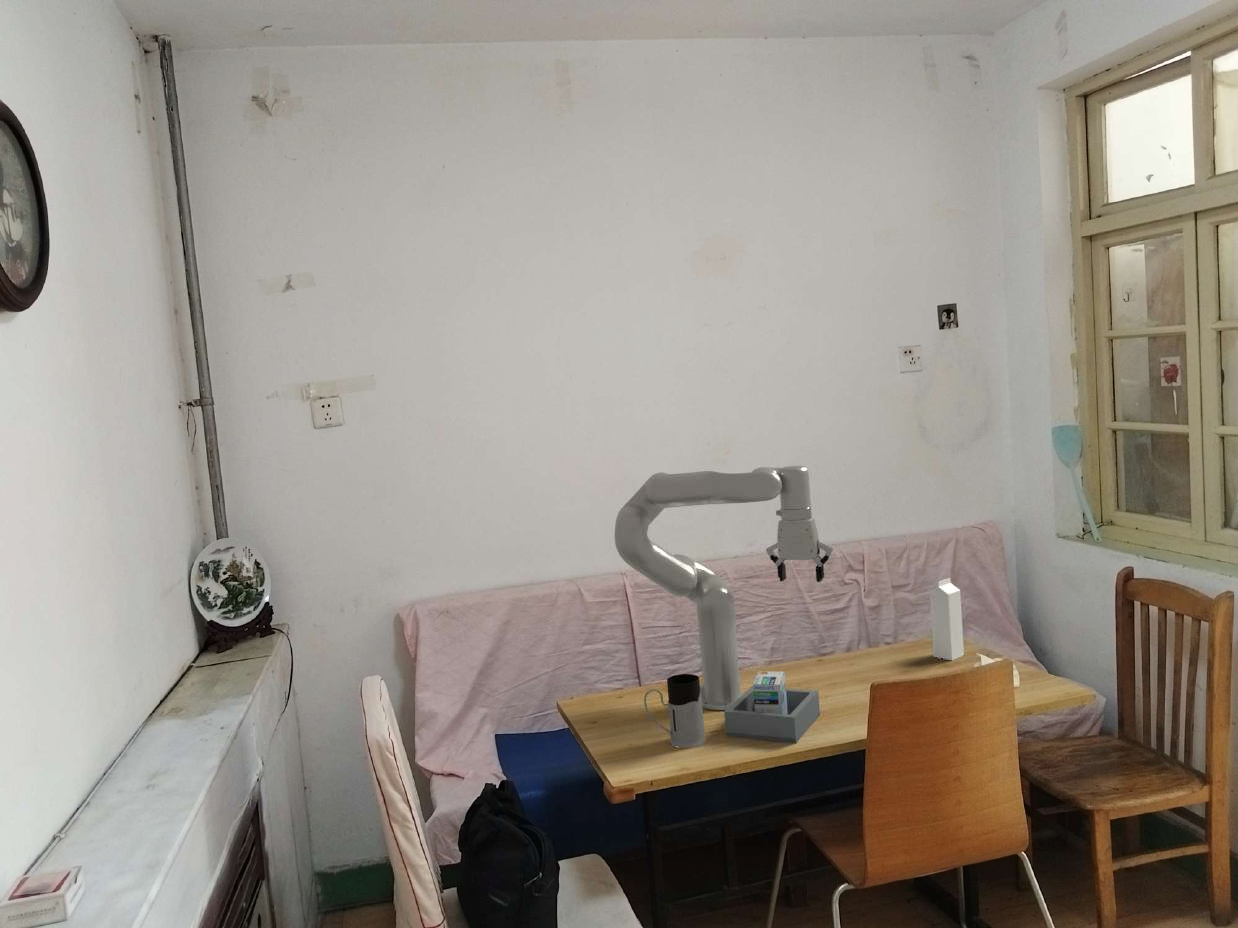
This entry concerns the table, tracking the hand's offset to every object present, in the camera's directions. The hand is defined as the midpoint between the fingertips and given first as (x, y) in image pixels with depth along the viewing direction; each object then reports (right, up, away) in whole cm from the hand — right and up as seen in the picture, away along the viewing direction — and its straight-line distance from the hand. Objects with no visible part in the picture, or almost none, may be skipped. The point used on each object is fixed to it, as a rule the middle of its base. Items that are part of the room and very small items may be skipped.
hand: (801, 580), depth 253 cm
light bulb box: (-10, -32, -16) cm, 37 cm away
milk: (+46, -25, +25) cm, 58 cm away
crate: (-10, -33, -16) cm, 38 cm away
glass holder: (-33, -36, -22) cm, 53 cm away
